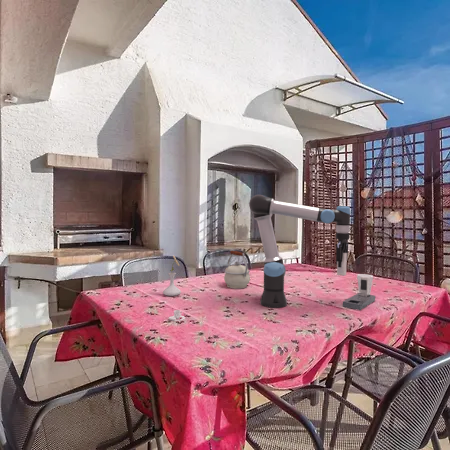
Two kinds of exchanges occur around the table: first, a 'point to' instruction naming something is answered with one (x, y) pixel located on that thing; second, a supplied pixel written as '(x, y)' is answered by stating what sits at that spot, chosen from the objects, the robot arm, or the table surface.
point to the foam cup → (360, 280)
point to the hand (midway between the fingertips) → (341, 271)
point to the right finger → (343, 264)
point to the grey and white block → (360, 296)
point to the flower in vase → (172, 283)
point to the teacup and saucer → (176, 316)
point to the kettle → (237, 273)
